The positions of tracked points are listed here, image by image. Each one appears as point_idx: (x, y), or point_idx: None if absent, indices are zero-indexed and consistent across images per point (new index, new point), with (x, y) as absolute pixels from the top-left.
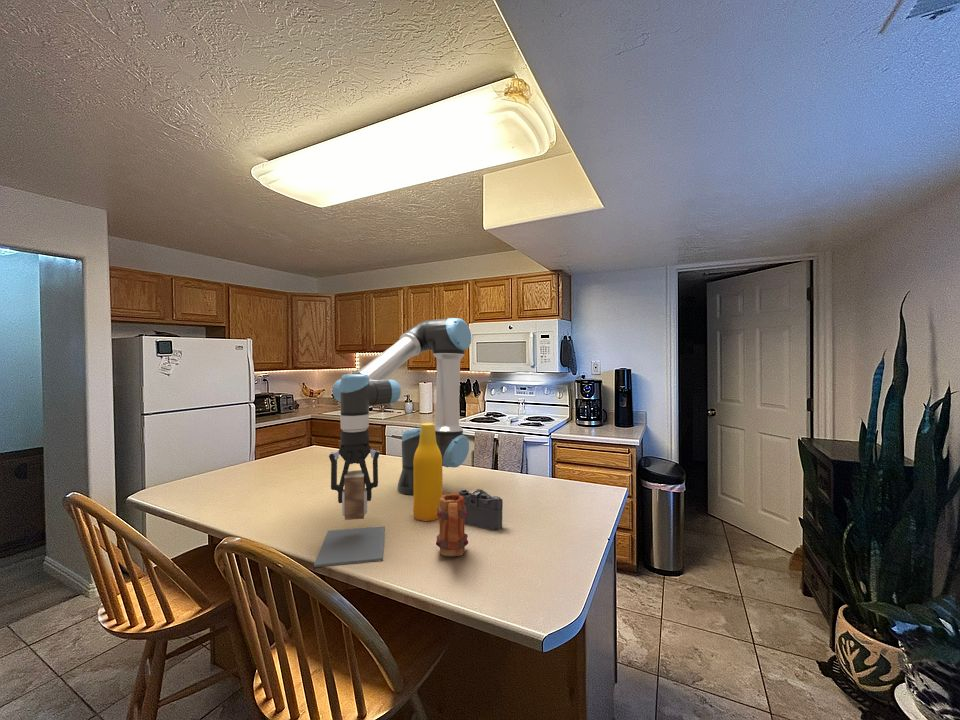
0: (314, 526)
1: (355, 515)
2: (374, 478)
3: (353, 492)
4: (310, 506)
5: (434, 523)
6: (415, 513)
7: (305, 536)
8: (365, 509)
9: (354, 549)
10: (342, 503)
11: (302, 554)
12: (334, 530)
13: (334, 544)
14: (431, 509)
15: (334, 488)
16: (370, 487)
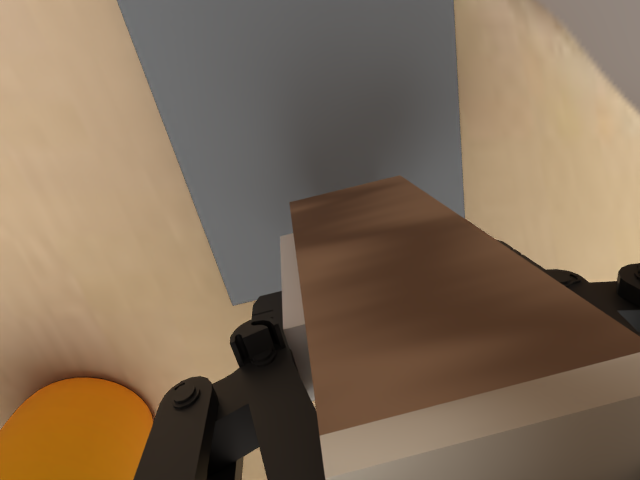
0: None
1: (340, 197)
2: (175, 476)
3: (403, 261)
4: None
5: (25, 358)
6: (123, 406)
7: (543, 206)
8: (288, 246)
9: (289, 48)
10: None
11: (522, 23)
12: None
13: (403, 108)
14: (17, 421)
15: (630, 276)
16: (243, 363)
